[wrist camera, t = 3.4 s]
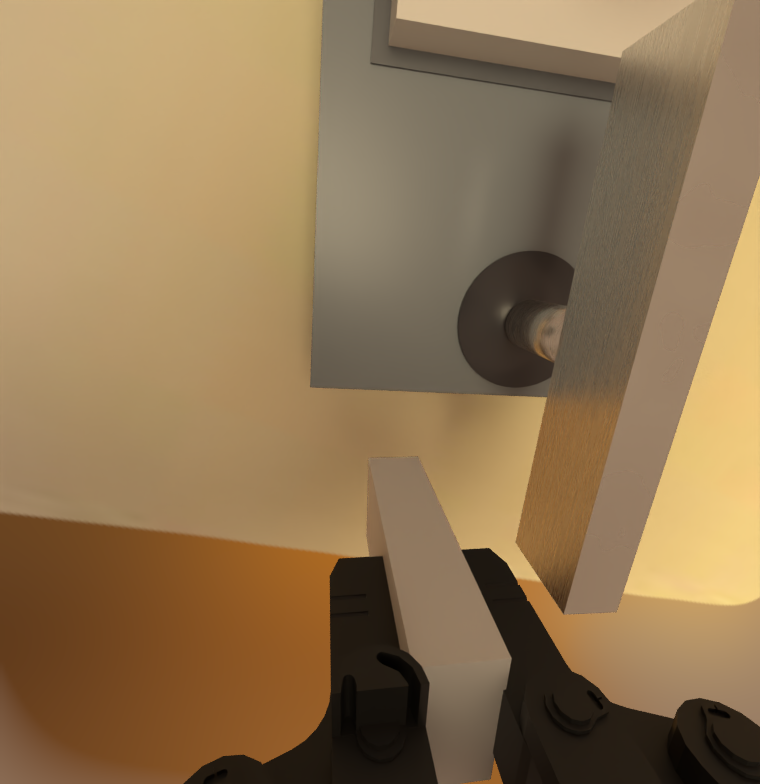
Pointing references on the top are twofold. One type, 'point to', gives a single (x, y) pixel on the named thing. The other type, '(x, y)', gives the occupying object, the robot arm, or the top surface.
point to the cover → (531, 31)
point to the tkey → (640, 295)
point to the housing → (441, 209)
